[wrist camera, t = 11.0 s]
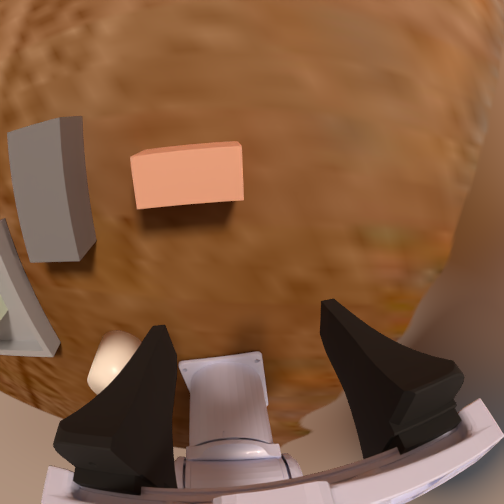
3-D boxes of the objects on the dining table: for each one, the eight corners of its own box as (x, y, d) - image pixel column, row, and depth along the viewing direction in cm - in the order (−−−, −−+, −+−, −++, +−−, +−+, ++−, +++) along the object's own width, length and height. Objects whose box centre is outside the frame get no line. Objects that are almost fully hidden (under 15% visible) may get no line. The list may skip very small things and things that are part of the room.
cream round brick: (152, 363, 26) (146, 403, 21) (112, 364, 26) (101, 402, 21) (136, 328, 24) (125, 369, 19) (94, 331, 24) (78, 370, 19)
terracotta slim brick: (239, 185, 20) (243, 200, 16) (150, 193, 19) (137, 209, 16) (237, 141, 18) (241, 146, 15) (145, 149, 18) (130, 156, 14)
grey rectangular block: (83, 115, 16) (59, 117, 13) (97, 239, 20) (79, 261, 17) (34, 127, 15) (7, 132, 12) (51, 241, 20) (30, 262, 16)
